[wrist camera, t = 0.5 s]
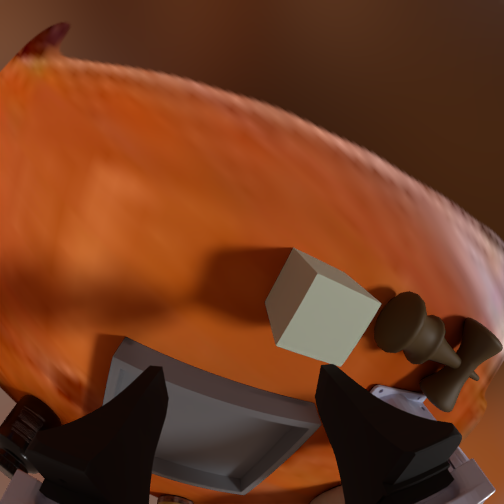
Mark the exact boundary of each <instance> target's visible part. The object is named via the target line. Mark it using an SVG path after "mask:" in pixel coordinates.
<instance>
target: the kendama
mask: <svg viewBox="0 0 504 504" xmlns="http://www.w3.org/2000/svg"><path fill="white" fill-rule="evenodd" d="M445 332H446V331H445V325H444V323H443V321H442V320H441V319H440V318H439V317H437V316H434V315H428V316H427V312H426V307H425V302H424V301H423V300H422V298H421V297H420V296H419V295H418V294H415V293H413V292H410V291H409V292H403V293H400V294H399V295H397V296H396V297H394V298H393V299H391V300H390V302H389V303H388V304H387V305H386V306H385V307H384V308H383V310H382V312H381V313H380V315H379V317H378V319H377V322H376V325H375V329H374V338H375V341H376V343H377V345H378V347H380V348H381V349H382V350H384V351H385V352H390V353H397V352H399V351H401V350H404V354H405V356H406V358H407V360H408V361H410V362H411V363H412V364H422V363H424V362H425V361H427V360H432V361H435V362H438V363H441V364H444V365H446V366H445V367H443V368H442V369H441V370H439V371H438V372H436V373H434V374H432V375H430V376H428V377H426V378H424V379H423V380H421V381H420V383H419V384H420V388H421V390H422V392H423V393H424V395H425V396H426V397H427V398H428V399H429V401H430V402H431V403H432V404H434V405H435V406H436V407H437V408H439V409H440V410H442V411H444V412H450V411H452V409H453V407H454V405H455V403H456V400H457V398H458V395H459V393H460V390H461V388H462V386H463V385H464V383H465V382H466V380H467V379H468V378H469V377H470V378H472V379H473V380H476V381H478V380H479V376H478V375H477V374H476V373H475V372H474V370H475V369H476V368H477V367H478V366H479V365H480V364H481V363H482V362H484V361H485V360H487V359H489V358H491V357H492V356H494V355H496V354H497V353H499V352H500V351H502V349H503V347H502V344H501V342H500V341H499V340H498V338H497V337H496V336H495V335H494V334H493V333H492V332H491V331H489V330H488V329H487V328H486V327H485V326H483V325H482V324H481V323H479V322H478V321H476V320H474V319H472V318H466V320H465V324H464V331H463V337H462V341H461V345H460V347H459V349H458V350H457V352H456V353H455V351H454V350H453V349H452V348H451V346H450V345H449V344H448V342H447V341H446V339H445V338H444V336H445Z"/></svg>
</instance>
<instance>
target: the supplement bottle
mask: <svg viewBox="0 0 504 504" xmlns="http://www.w3.org/2000/svg"><path fill="white" fill-rule="evenodd" d="M59 426H62V425H61V422H60V420H59V418H58V417H57V416H56V414H55V413H54V412H53V411H52V410H51V409H50V408H49V407H48V406H47V405H46V404H45V403H43V402H42V401H40V400H39V399H37V398H35V397H33V396H30V395H25V396H23V397H22V398H21V399H20V400H19V401H18V403H17V404H16V405H15V407H14V408H13V409H12V411H11V412H10V413H9V415H8V416H7V417H6V419H5V420H4V422H3V423H2V424H1V426H0V471H1V472H2V473H4V474H5V475H6V476H7V477H8V478H10V479H12V478H13V476H14V474H15V472H16V470H17V469H20V470H21V471H23V472H25V473H27V474H28V473H33V474H36V473H39V472H38V471H37V470H36V468H35V467H34V466H33V465H32V464H31V463H30V461H29V460H28V458H27V456H26V454H25V450H26V449H27V447H28V445H29V444H30V442H31V441H32V439H33V437H34V436H35V434H36V433H37V431H42V430H47V429H51V428H55V427H59Z"/></svg>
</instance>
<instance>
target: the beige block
mask: <svg viewBox="0 0 504 504" xmlns="http://www.w3.org/2000/svg"><path fill="white" fill-rule="evenodd" d="M381 304H382V303H380V302H379V301H378V300H377V299H376V298H375V297H373V296H372V295H371V294H370V293H369V292H367V291H366V290H365V289H364V288H363V287H361V286H360V285H359V284H358V283H357V282H355V281H354V280H353V279H352V278H351V277H349V276H348V275H347V274H346V273H344V272H342V271H340V270H338V269H336V268H334V267H332V266H330V265H328V264H326V263H324V262H322V261H320V260H318V259H316V258H314V257H312V256H310V255H308V254H306V253H304V252H302V251H300V250H297V249H295V248H293V249H292V251H291V253H290V255H289V257H288V259H287V261H286V263H285V265H284V266H283V268H282V270H281V272H280V274H279V276H278V278H277V280H276V282H275V284H274V286H273V287H272V289H271V291H270V293H269V295H268V297H267V299H266V301H265V305H266V309H267V313H268V317H269V321H270V325H271V329H272V333H273V336H274V340H275V344H276V346H278V347H281V348H284V349H287V350H290V351H293V352H296V353H299V354H302V355H305V356H308V357H311V358H314V359H317V360H320V361H324V362H327V363H330V364H334V365H337V366H340V367H341V366H342V364H343V363H344V362H345V360H346V359H347V357H348V356H349V354H350V353H351V352H352V350H353V349H354V347H355V346H356V344H357V343H358V341H359V340H360V338H361V337H362V335H363V333H364V332H365V330H366V329H367V327H368V326H369V324H370V322H371V321H372V319H373V317H374V316H375V314H376V313H377V311H378V309H379V307H380V306H381Z"/></svg>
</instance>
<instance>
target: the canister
mask: <svg viewBox="0 0 504 504" xmlns="http://www.w3.org/2000/svg"><path fill="white" fill-rule="evenodd" d="M310 504H345V499H344V494H343V488H342V485H341V486H338V487H336V488H333V489H331V490H328V491H326V492H324V493H322V494H321V495H319V496H317V497H316V498H314V500H312V501H311V502H310Z"/></svg>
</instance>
